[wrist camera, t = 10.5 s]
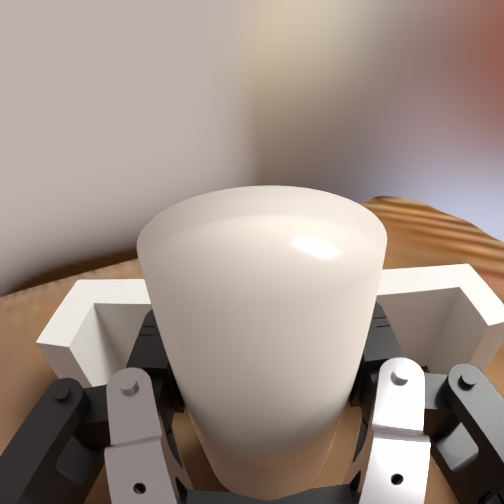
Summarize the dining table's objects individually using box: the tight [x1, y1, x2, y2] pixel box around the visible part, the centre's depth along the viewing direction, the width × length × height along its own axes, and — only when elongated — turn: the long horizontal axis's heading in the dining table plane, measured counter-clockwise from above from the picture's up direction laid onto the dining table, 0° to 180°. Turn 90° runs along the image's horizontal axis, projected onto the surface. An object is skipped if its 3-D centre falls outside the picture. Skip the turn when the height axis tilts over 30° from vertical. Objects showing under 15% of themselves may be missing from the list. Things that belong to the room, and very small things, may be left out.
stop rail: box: [36, 264, 504, 388], centre depth 14 cm, size 22×5×6 cm, turn 90°
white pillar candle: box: [137, 186, 387, 501], centre depth 9 cm, size 5×5×11 cm
